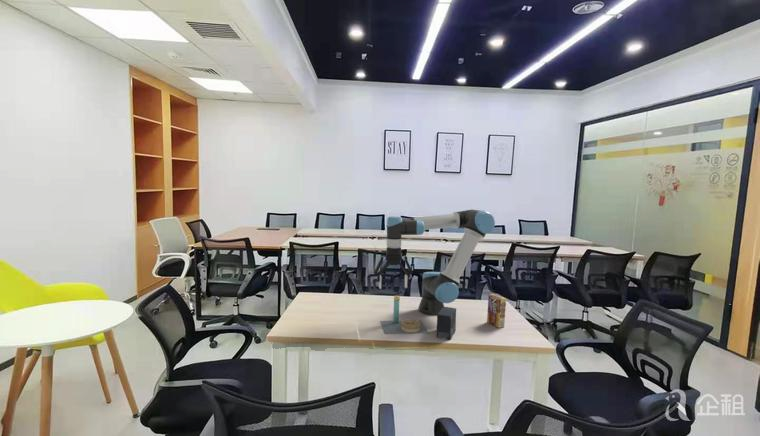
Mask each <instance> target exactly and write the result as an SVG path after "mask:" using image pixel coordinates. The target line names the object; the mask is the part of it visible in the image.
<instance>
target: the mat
mask: <svg viewBox="0 0 760 436" xmlns="http://www.w3.org/2000/svg"><path fill="white" fill-rule="evenodd" d="M402 321H403V320H399V323H398V324H394V323H393V320H380V321H379V322H380V326H381V329H382V330H383V331H382V332H383V333H384V335H404V334H405V335H411V334H413V335H414V334H430V331H429V330H428V329H427V327H426V326H425V325H424V323H423V321H422V320H417V321H419V322H420V330H419V331H418V332H405V331H403V330H402V329H401V322H402Z"/></svg>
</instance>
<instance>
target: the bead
mask: <svg viewBox="0 0 760 436" xmlns="http://www.w3.org/2000/svg"><path fill="white" fill-rule="evenodd" d="M401 321H402V322H401V329H402V330H403V331H405V332H418V331H419V330H420V322H419V321H417V320H416V319H411V318H410V319H403V320H401Z"/></svg>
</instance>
